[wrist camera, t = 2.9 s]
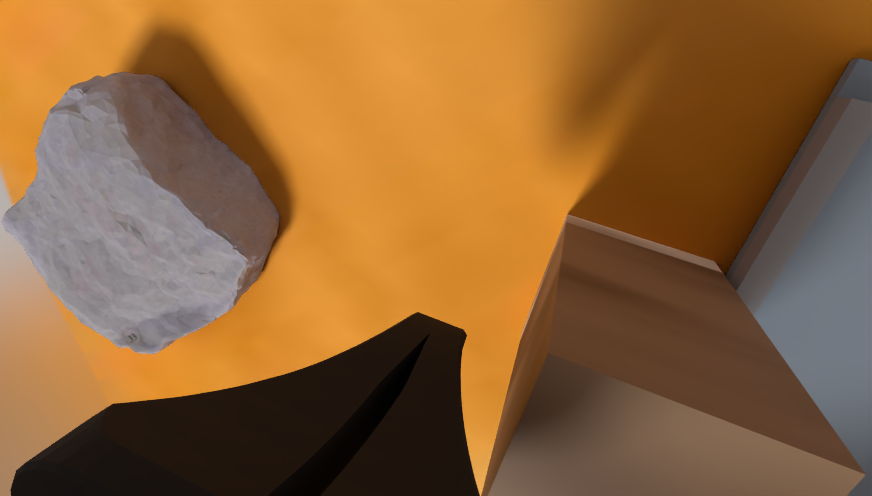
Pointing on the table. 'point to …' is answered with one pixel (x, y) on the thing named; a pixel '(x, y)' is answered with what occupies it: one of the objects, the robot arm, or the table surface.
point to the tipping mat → (822, 265)
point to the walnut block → (654, 385)
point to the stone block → (141, 213)
